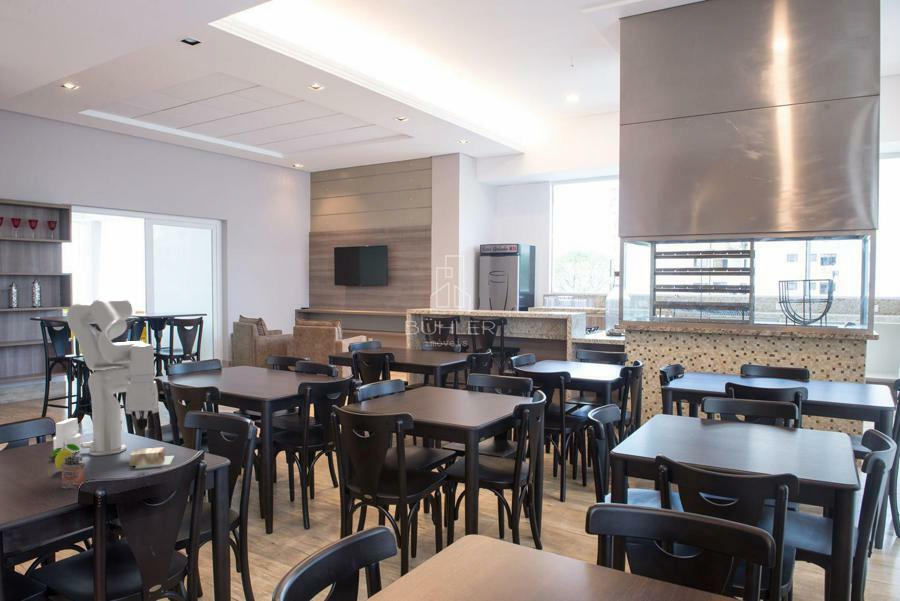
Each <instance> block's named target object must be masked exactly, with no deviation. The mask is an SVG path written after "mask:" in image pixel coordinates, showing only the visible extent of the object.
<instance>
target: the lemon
mask: <svg viewBox="0 0 900 601" xmlns="http://www.w3.org/2000/svg"><path fill="white" fill-rule="evenodd" d="M63 444H64V442H63ZM64 445H65V444H64ZM66 446H67V448H68V449H70V450H75V451H77V450H80V449H79V448H78V446H76V445H74V444H68V445H66ZM62 448H63V447H62ZM62 448H57V449H55V450H54V449H53V451H52V453H51V455H50V458H53V457H55V459H54V464H55V467H56V468H57V469H59V470H62V467H61V463H65V458H64V457H66V456H72V455H74V453H73V454H72V452H71V451H70V450H67V449H65V446H64V449H62ZM61 449H62V450H61ZM60 450H61V451H60ZM56 454H57V455H56Z"/></svg>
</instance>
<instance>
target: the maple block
mask: <svg viewBox="0 0 900 601" xmlns="http://www.w3.org/2000/svg"><path fill="white" fill-rule="evenodd" d="M164 456H165V447H164V446H163V447H161V446H158V447H151V448H150V447H149V448H138V449H133V450H132V452H131V453H130V454H129V466H130V467H134V466H135V467H136V466H137V465H148V464H159V463H162V461H163V460H164V458H165V457H164Z"/></svg>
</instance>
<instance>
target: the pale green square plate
mask: <svg viewBox="0 0 900 601" xmlns="http://www.w3.org/2000/svg"><path fill="white" fill-rule="evenodd" d="M164 457H165V458H164V460H163V461H162V463H159V464H148V465H137V466H135V469H146V468H148V469H149V468H157V467H167V466H168V467H169V466H171V465H172V462H173V461H174V458H175V455H169V456H168V455H164Z"/></svg>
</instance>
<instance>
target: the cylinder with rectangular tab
mask: <svg viewBox="0 0 900 601" xmlns="http://www.w3.org/2000/svg"><path fill="white" fill-rule="evenodd" d="M78 422H79V420H78V417H73V418H68V419H65V420H62V421H60V422H57V423H55V436H53V439H52V440H53V441H52V442H53V451H54V450H55V449H57V448H62V447H63V448H62V449H64V446H65V449H67V450H70V449H68V448H67V446H66V445H68V444H74V445H76V446H78V448H79V449H80V450H77V451H75V450H70V451H71V452H72V453H73V454H76V453H75V452H77V453H79V452H81V451H82V448H81V443H82V434H81V433H79V424H78ZM63 442H64V444H65V445H64V444H63ZM62 449H61V450H62ZM61 450H60V451H61ZM78 451H79V452H78Z"/></svg>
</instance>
